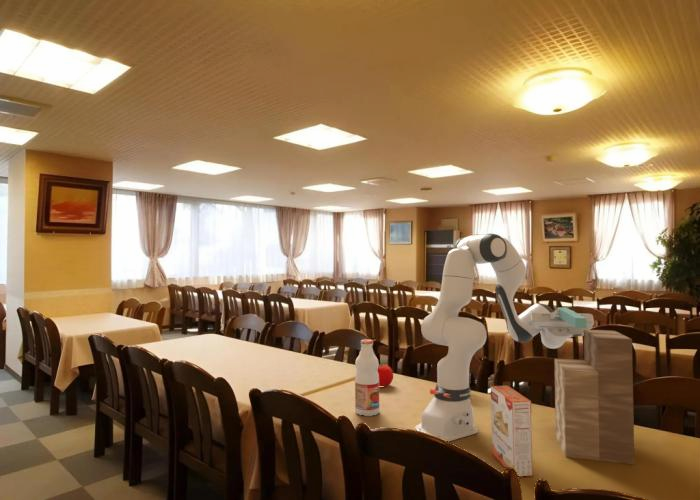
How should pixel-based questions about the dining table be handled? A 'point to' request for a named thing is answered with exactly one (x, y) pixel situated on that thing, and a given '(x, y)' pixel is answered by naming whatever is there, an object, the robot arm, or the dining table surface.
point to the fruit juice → (367, 381)
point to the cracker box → (512, 429)
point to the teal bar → (572, 318)
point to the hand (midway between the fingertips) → (564, 312)
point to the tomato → (385, 375)
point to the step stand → (596, 400)
